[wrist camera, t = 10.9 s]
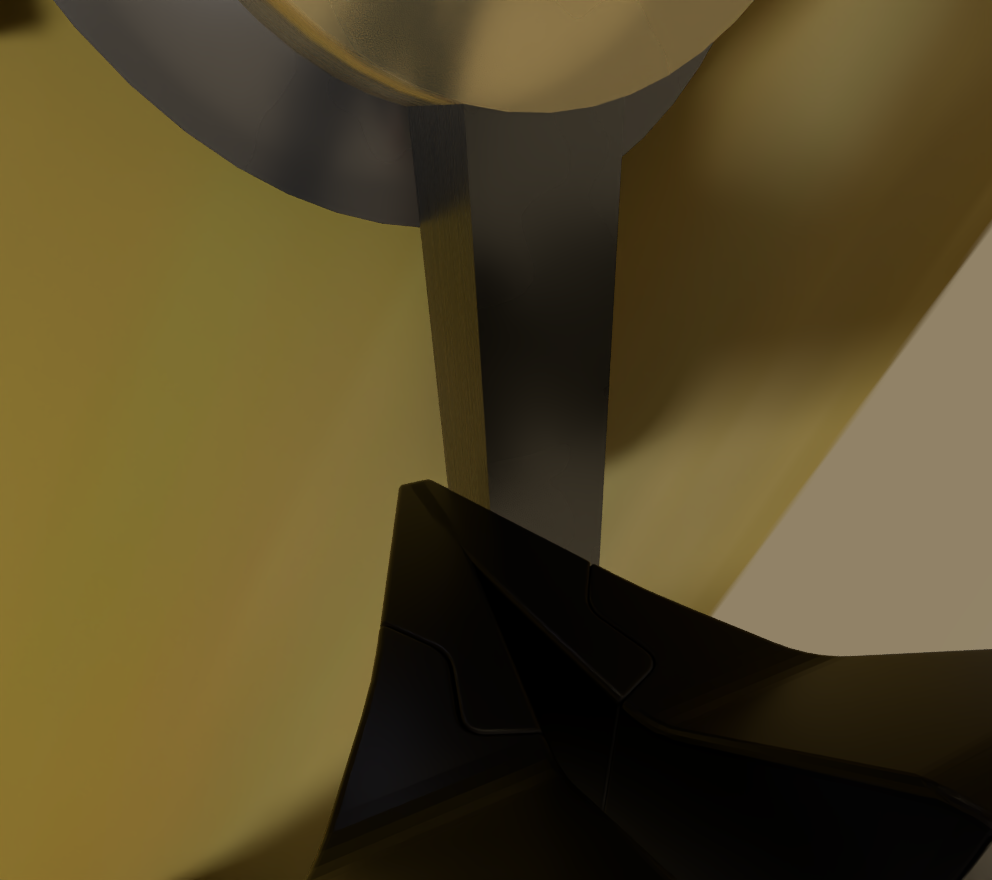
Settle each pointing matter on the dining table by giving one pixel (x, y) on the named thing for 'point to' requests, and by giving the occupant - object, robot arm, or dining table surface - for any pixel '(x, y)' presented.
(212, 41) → the nut base
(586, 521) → the grey red-tipped part
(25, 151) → the dining table surface
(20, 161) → the dining table surface
